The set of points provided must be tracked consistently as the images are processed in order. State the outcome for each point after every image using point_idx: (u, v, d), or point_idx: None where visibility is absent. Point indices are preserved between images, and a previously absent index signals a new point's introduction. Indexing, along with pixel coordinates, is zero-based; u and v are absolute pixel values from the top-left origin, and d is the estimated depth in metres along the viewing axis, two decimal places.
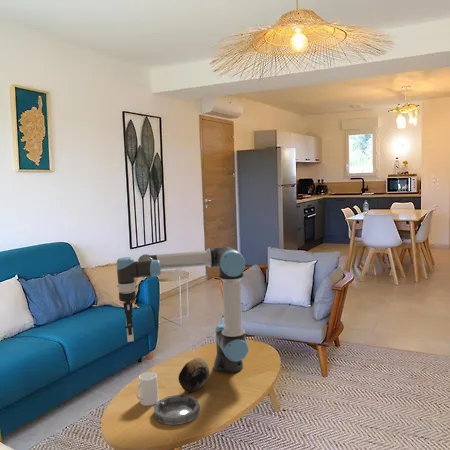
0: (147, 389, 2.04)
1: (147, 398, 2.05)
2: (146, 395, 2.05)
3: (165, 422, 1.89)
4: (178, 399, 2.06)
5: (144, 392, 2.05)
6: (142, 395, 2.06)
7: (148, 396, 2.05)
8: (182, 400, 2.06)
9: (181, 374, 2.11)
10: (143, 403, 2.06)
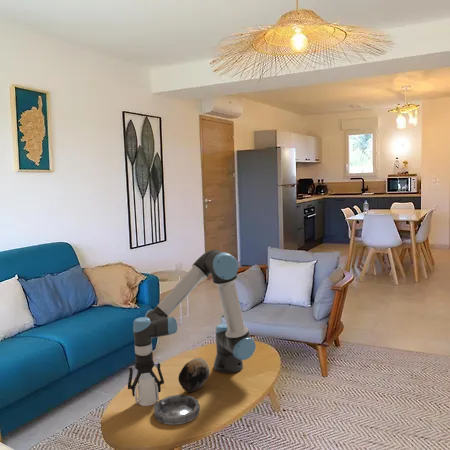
0: (145, 389, 2.04)
1: (146, 398, 2.05)
2: (144, 395, 2.04)
3: (165, 422, 1.89)
4: (178, 399, 2.06)
5: (142, 392, 2.04)
6: (140, 395, 2.05)
7: (146, 396, 2.04)
8: (182, 400, 2.06)
9: (181, 374, 2.11)
10: (141, 403, 2.05)
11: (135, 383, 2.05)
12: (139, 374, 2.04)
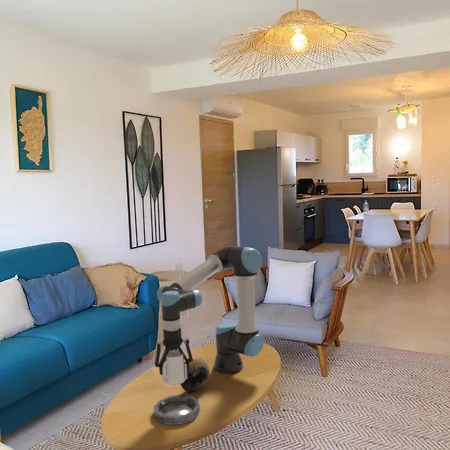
0: (174, 367, 1.93)
1: (174, 376, 1.93)
2: (173, 373, 1.93)
3: (165, 422, 1.89)
4: (178, 399, 2.06)
5: (171, 370, 1.93)
6: (168, 374, 1.94)
7: (175, 375, 1.93)
8: (182, 400, 2.06)
9: None
10: (169, 382, 1.94)
11: (163, 361, 1.93)
12: (167, 351, 1.92)
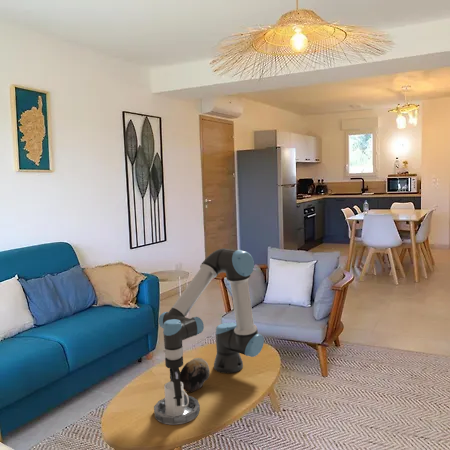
0: (183, 393, 1.98)
1: None
2: (183, 400, 1.97)
3: (165, 422, 1.89)
4: None
5: (183, 398, 1.96)
6: (182, 404, 1.95)
7: None
8: None
9: (181, 374, 2.11)
10: (183, 411, 1.96)
11: None
12: None
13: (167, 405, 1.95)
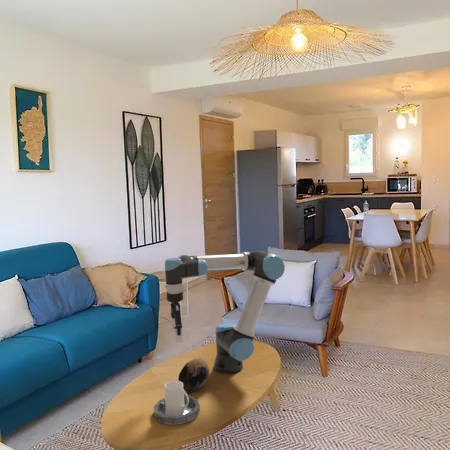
0: (183, 394, 1.98)
1: None
2: (183, 400, 1.97)
3: (165, 422, 1.89)
4: None
5: (183, 398, 1.96)
6: (182, 404, 1.95)
7: None
8: None
9: (181, 374, 2.11)
10: (183, 411, 1.96)
11: None
12: None
13: (167, 405, 1.95)
